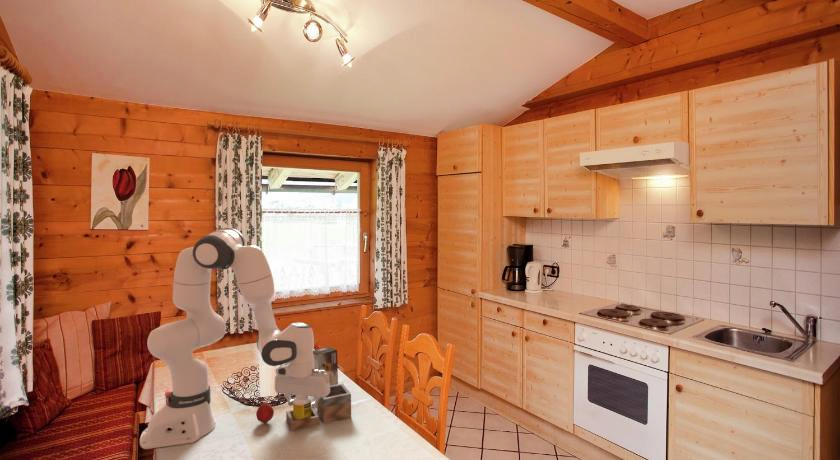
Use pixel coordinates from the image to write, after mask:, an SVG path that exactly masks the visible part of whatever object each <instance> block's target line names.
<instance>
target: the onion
mask: <svg viewBox="0 0 840 460" xmlns="http://www.w3.org/2000/svg"><path fill="white" fill-rule="evenodd" d="M274 412H275V411H274V407H273V406H272V405H271V404H269V403H268V402H267V401H264V402H263V403H262V404H261V405H259V406H258V408H257V410H256V414H255V416H256V419H257V421H258V422H260V423H262V424H268V423H269V421H271V420H272V418H273V417H274V414H275V413H274Z"/></svg>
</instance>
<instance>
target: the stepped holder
mask: <svg viewBox="0 0 840 460" xmlns="http://www.w3.org/2000/svg"><path fill="white" fill-rule="evenodd" d="M285 414H286V415H285V417H286V421H287V424H288V426H289V429H290V430H291V432H295V431H298V430H299V431H300V430H304V429H308V428H310V427H311V428H312V427H316V426H320V420H321V421H322V422H323V424H324V425H326V424H330V423H333V422H334V423H335V422H339V421H342V420H346V419H351V418H352V393H351V392H350V390H349V389H348V388H347V387H346V386H345V385H344V383H338V384H337V385H332V386H330V393H329V394H328V396H326V397H325V398H320V400H319V401H318V407H317V408H312V405H311V417H309V418H305V419H300V420H296V421H294V420H293V409H290V410H286V411H285Z"/></svg>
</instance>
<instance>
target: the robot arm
mask: <svg viewBox="0 0 840 460" xmlns="http://www.w3.org/2000/svg"><path fill="white" fill-rule="evenodd" d="M245 241H246V240H245V237H244V235H243V234H242V233H241V232H240V231H239V230H237V229H235V228H232V227H228V228H227V227H225V228H222V229H219V230H214V231H212V232H210V233H209V234H207V235H205V236H203V237H201V238H200V239H198V240H197V241H196V242H195V244H194V246H192V247H187V248H184V249H181V251H180V252H179V254H178V256H177V259H176V264H175V268H174V274H173V285H172V302H173V304H174V305H175V307H176V308H178V309H180V310H182V311H185V312H186V317H185V318H184V319H180V320H176V321H173V322H171V321H170V322H168V323H165V324H162V325H160V326H158V327H157V328H155V329H153V330H151V331H150V333H149V334H148V337H147V340H146V341H147V342H146V344H147V349H148V352H149V353H150V354H151V355H152V356H153V357H154V358H155V359H156V358H157V359H159V360H161V361H163V362H164V363H165V364H166V365H167V367H168V369H169V371H170V375H171V377H170V378H171V387H172V388H171V389H172V391H171V390H170V389H168V390H166V391H165V393H164V397H165V404H164V405H163V406H162V407H161V408H160V409H158V410H157V411H156V412H154V414H152V416H151V417H150V419H149V421H148V424H147V427H146V428H145V429H144V430H143V431H142V432H141V435H140V438H139V446H140V447H141V448H142V449H143V450H150V449H157V448H162V447H163V448H164V447H170V446H179V445H186V444H187V445H188V444H192V443H196V442H197V441H198V440H199V439H201V438H202V437H204V436H205V435H208V434H209V433H210V432H211V431H213V430H214V429H215V427H216V422H215V420H214V416H213V413H212V408H211V400H212V391H211V386H210V385H209V367H208V365H207V364H206V362H205V361H203V360H201V359H198V358H194V351H195V350H198V349H201V348H203V347H204V348H205V347H207V346H210V345H213V344H215V343H216V342H218V341H220V340H221V339H223V338H224V336H225V334H226V331H227V325H226V322H225V320H224V318H223V317H222V316H221V315H220V314H218V312H217V313H216V311H215V310H214V309H213V306H212V304H211V284H212V283H211V282H212V270H213V269H214V270H215V269H216V270H217V269H218V270H228V269H229V268H230V269H232V271H233V273H234V275H235V279H236V282H237V286H238V288H239V291H240V293H241V296H242V298H243V300H244V301H245V302H246V304H247V305H249V307H250V308H251V309H252V312H253V316H254V319H255V323H256V326H257V330H258V331H257V338H256V347H257V349H258V351H259V354H260V356H261V359H262V361H263V362H264V363H265V364H266V365H268V366H271V367H277V366H278V367H277V368H276V369H275V374H276V375H275V378H274V391H275V392H276V393H277V394H284V397H285V400H286V401H287V405H288V406H291V407H293V400H294V399H295V398H292V396H295V395H302V396H309V397H310V398H312V397H313V398H314V400H315V401H313V402H311V406H312V408H314V409H317V407H318V401H319V400H320V398H325V397H326V396H328V394H329V393H330V384H329V374H328V373H327V372H325V371H324V370H316V369H315V363H314V355H313V350H315V349H314V348H315V339H314V332H313V328H312V326H310V325H309V324H307V323H304V322H298V321H297V322H293V323H292V322H291V323H289V325H288V326H287V327H286V328H284V329H283V330H281V328H280V327H278V325H277V323H276V319H275V318H276V317H275V315H274V311H273V308H272V300H273V297H274V295H275V283H274V282H275V281H274V277H273V273H272V270H271V267H270V264H269V261H268V259H267V257H266V255H265V253H264V252H263V250H262V249H261V247H259V246H258V245H246V242H245Z"/></svg>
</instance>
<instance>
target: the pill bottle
mask: <svg viewBox="0 0 840 460" xmlns="http://www.w3.org/2000/svg"><path fill="white" fill-rule="evenodd" d="M294 396H295V397H294V398H293V399H294V400H293V405H292V408H293V409H292V410H293V420H294V421H296V420H300V419H305V418H309V417H311V406H312V399H311V398H312V397H311V396H302V395H294Z"/></svg>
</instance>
